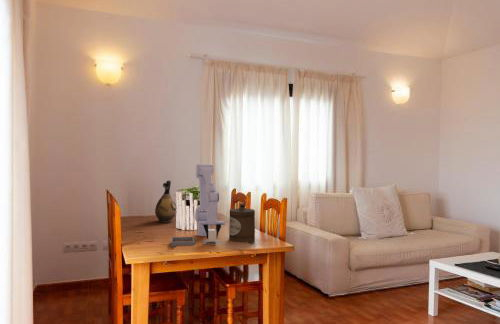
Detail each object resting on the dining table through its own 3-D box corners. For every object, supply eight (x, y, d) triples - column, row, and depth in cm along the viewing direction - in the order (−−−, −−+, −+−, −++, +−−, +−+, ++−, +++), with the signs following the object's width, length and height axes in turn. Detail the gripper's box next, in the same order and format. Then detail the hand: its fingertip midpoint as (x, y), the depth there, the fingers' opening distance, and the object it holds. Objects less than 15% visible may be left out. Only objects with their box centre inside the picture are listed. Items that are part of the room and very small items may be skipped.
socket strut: (208, 241, 218) (208, 230, 218) (207, 239, 222) (207, 229, 222) (216, 241, 219) (216, 230, 218) (215, 239, 223) (215, 229, 223)
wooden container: (225, 239, 233) (226, 202, 233) (248, 237, 240) (249, 201, 239) (234, 245, 220) (235, 205, 219) (259, 243, 226) (259, 204, 226)
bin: (171, 242, 223) (171, 237, 223) (193, 242, 225) (193, 236, 225) (171, 247, 211) (171, 242, 211) (194, 247, 213) (194, 241, 213)
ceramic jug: (174, 223, 283) (174, 181, 283) (152, 223, 283) (153, 181, 283) (178, 219, 300) (179, 179, 300) (158, 219, 300) (158, 179, 300)
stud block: (202, 242, 225) (202, 232, 225) (219, 241, 227) (219, 232, 227) (203, 247, 214) (203, 237, 213) (222, 246, 215) (222, 236, 215)
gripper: (199, 215, 215) (199, 240, 215) (226, 214, 218) (225, 239, 218) (198, 213, 222) (198, 237, 222) (224, 212, 224) (224, 236, 225)
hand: (211, 238), depth 220 cm, fingers closed on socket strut, 4 cm apart
